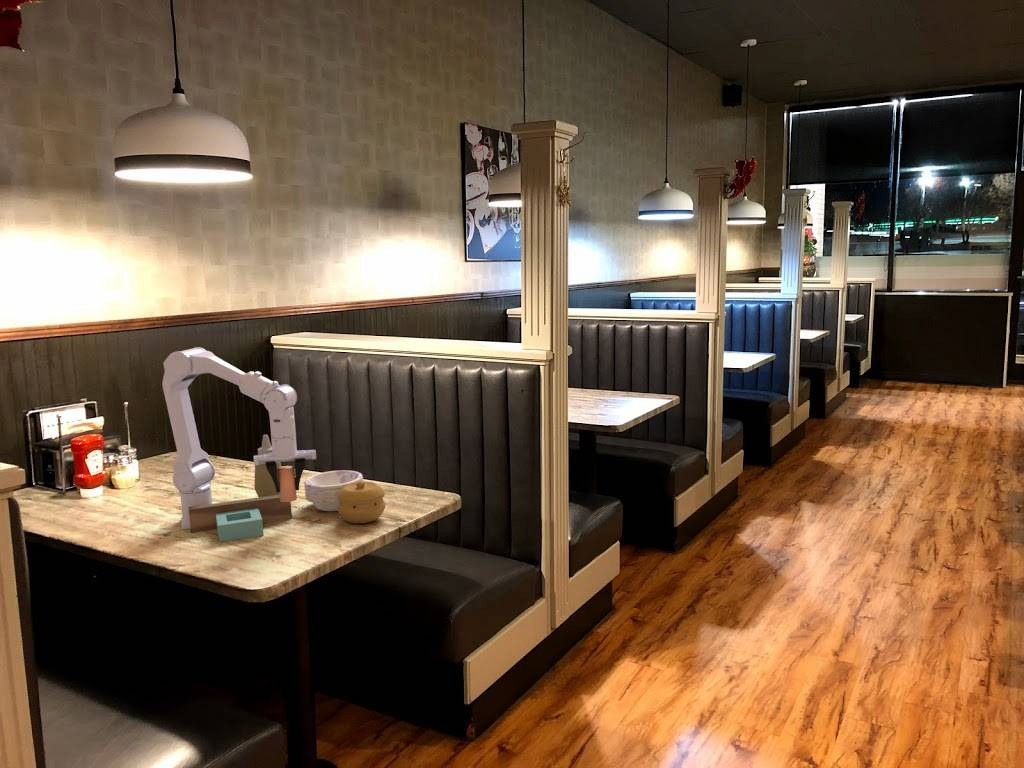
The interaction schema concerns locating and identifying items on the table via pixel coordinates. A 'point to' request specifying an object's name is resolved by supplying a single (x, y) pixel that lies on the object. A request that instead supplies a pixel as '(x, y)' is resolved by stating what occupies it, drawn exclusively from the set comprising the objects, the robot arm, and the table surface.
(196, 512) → the backstop wall
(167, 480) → the table surface
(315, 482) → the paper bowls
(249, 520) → the sliding block
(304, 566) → the table surface
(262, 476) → the squeeze bottle
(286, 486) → the dowel
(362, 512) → the pot
